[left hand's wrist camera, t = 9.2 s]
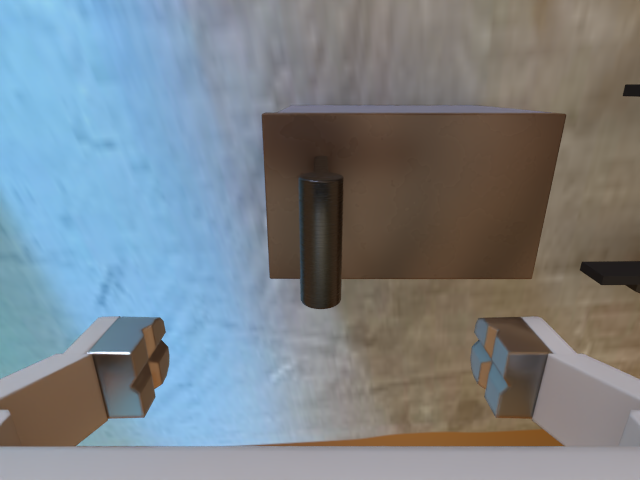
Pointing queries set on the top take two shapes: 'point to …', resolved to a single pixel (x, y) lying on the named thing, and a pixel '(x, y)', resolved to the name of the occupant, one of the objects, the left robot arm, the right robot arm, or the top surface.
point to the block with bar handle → (405, 196)
